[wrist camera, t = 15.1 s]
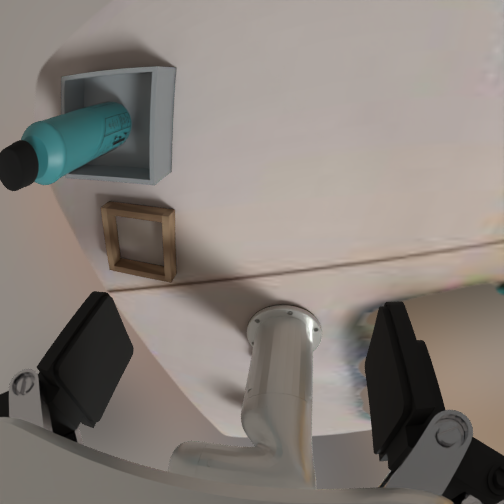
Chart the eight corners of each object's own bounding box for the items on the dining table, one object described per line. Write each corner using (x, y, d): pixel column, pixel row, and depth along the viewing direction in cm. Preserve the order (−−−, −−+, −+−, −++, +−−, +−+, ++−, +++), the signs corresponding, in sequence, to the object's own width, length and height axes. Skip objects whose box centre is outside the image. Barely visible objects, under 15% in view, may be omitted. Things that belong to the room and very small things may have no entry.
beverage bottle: (107, 92, 33) (-10, 122, 16) (147, 110, 34) (37, 149, 17) (92, 134, 36) (-16, 187, 19) (129, 153, 38) (27, 219, 21)
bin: (171, 171, 39) (154, 185, 35) (87, 165, 40) (65, 178, 36) (176, 67, 32) (157, 66, 27) (86, 74, 33) (61, 76, 28)
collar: (176, 273, 48) (171, 282, 46) (116, 262, 49) (109, 269, 47) (174, 209, 42) (168, 216, 40) (108, 201, 43) (100, 207, 41)
